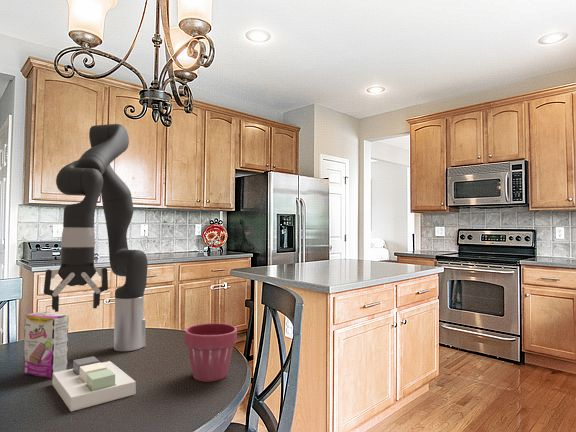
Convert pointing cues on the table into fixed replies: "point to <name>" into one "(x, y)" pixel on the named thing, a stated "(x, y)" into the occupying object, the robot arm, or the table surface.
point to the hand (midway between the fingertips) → (76, 309)
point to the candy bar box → (45, 344)
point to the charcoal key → (83, 363)
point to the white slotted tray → (82, 397)
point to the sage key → (100, 379)
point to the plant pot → (210, 349)
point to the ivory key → (90, 370)
